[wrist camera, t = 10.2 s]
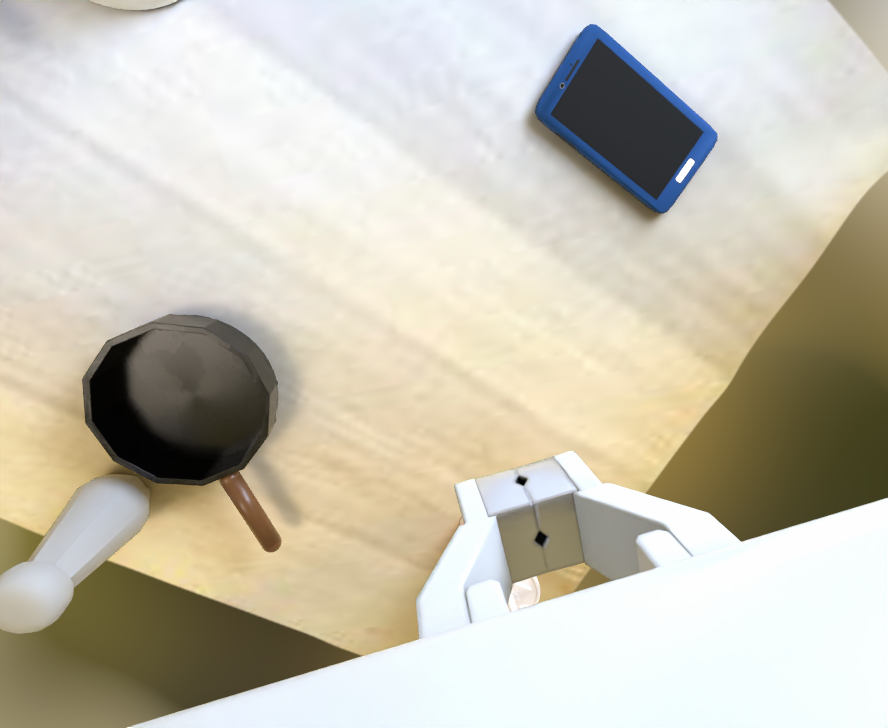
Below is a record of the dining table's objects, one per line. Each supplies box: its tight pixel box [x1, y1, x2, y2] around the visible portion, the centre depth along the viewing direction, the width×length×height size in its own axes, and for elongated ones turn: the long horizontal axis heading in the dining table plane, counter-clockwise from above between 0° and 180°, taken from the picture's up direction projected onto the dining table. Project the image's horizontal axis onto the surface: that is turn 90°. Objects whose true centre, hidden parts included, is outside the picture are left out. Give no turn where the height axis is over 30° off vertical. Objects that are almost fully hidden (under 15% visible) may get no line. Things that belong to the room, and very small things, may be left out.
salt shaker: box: [0, 474, 150, 634], centre depth 34 cm, size 6×6×13 cm
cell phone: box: [535, 24, 717, 213], centre depth 36 cm, size 7×14×1 cm, turn 57°
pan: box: [82, 314, 281, 552], centre depth 38 cm, size 21×13×4 cm, turn 22°
